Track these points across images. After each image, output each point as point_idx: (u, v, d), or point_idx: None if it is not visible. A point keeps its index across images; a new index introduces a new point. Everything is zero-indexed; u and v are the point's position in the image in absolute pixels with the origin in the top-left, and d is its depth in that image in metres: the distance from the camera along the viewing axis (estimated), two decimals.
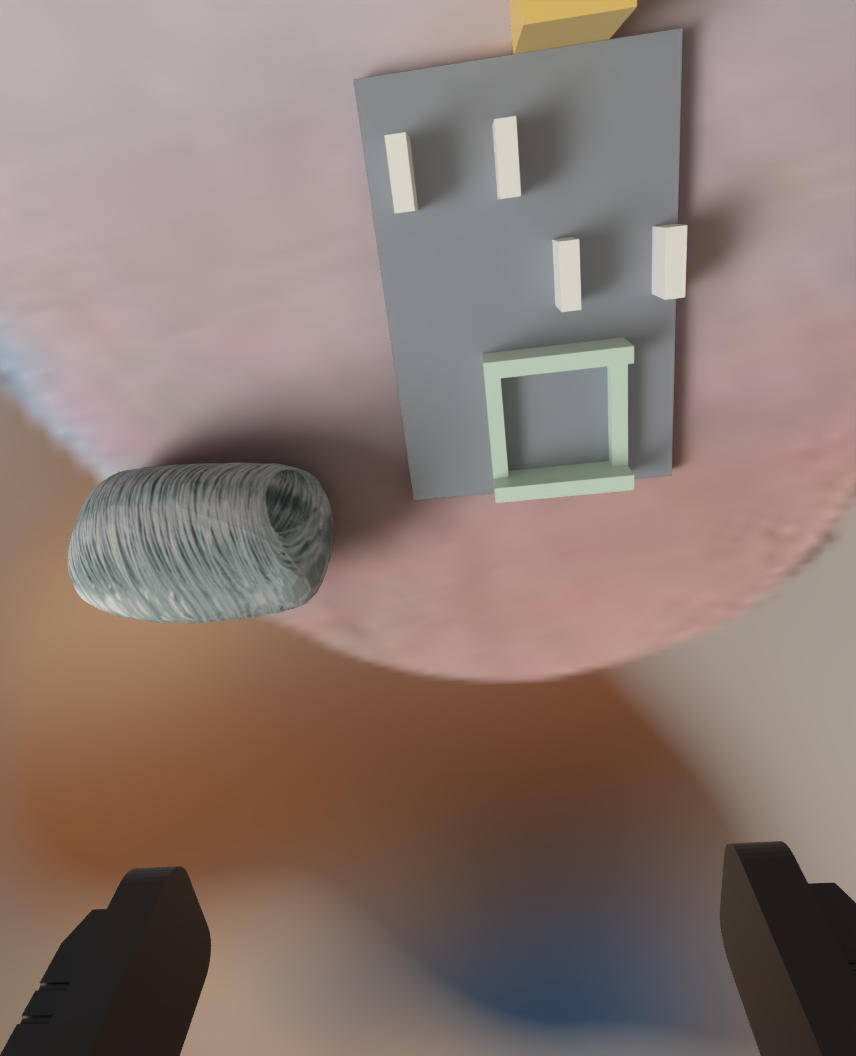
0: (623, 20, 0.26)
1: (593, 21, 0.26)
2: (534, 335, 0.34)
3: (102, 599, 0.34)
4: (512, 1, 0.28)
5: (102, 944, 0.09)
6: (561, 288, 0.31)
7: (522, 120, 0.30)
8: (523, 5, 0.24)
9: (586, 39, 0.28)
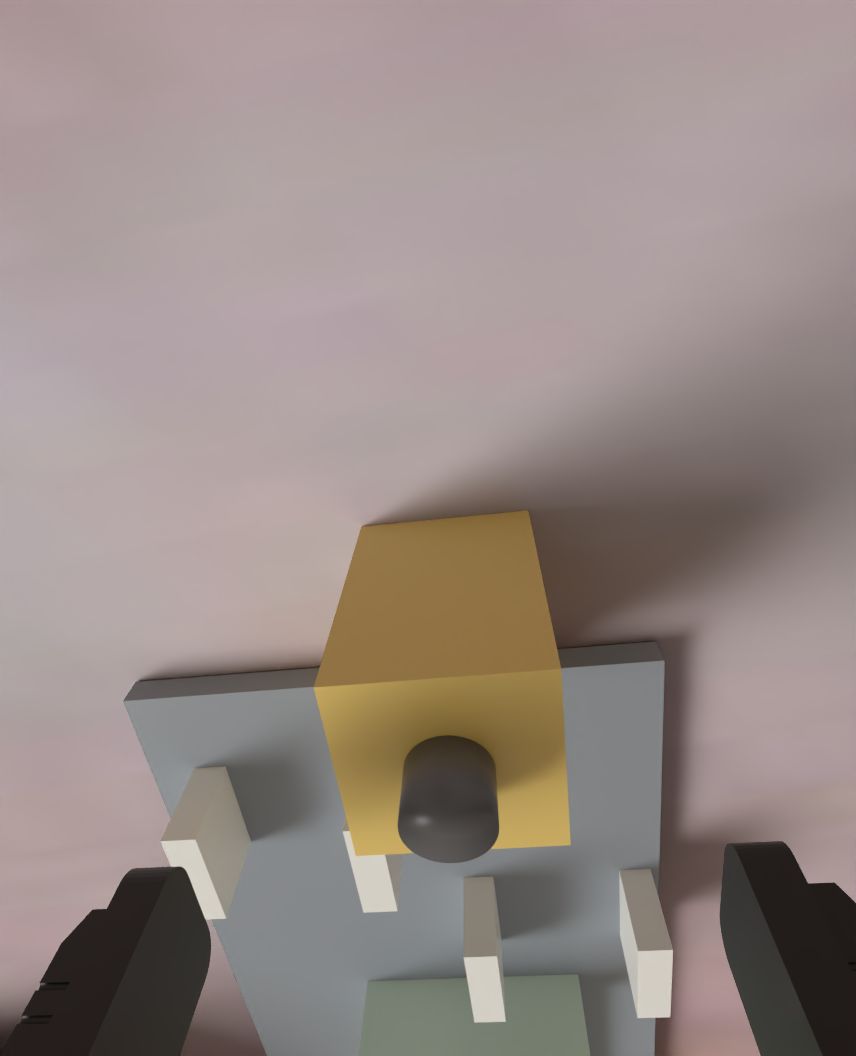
0: None
1: None
2: (444, 967, 0.23)
3: None
4: None
5: (102, 944, 0.09)
6: (472, 1001, 0.19)
7: None
8: (352, 836, 0.13)
9: None
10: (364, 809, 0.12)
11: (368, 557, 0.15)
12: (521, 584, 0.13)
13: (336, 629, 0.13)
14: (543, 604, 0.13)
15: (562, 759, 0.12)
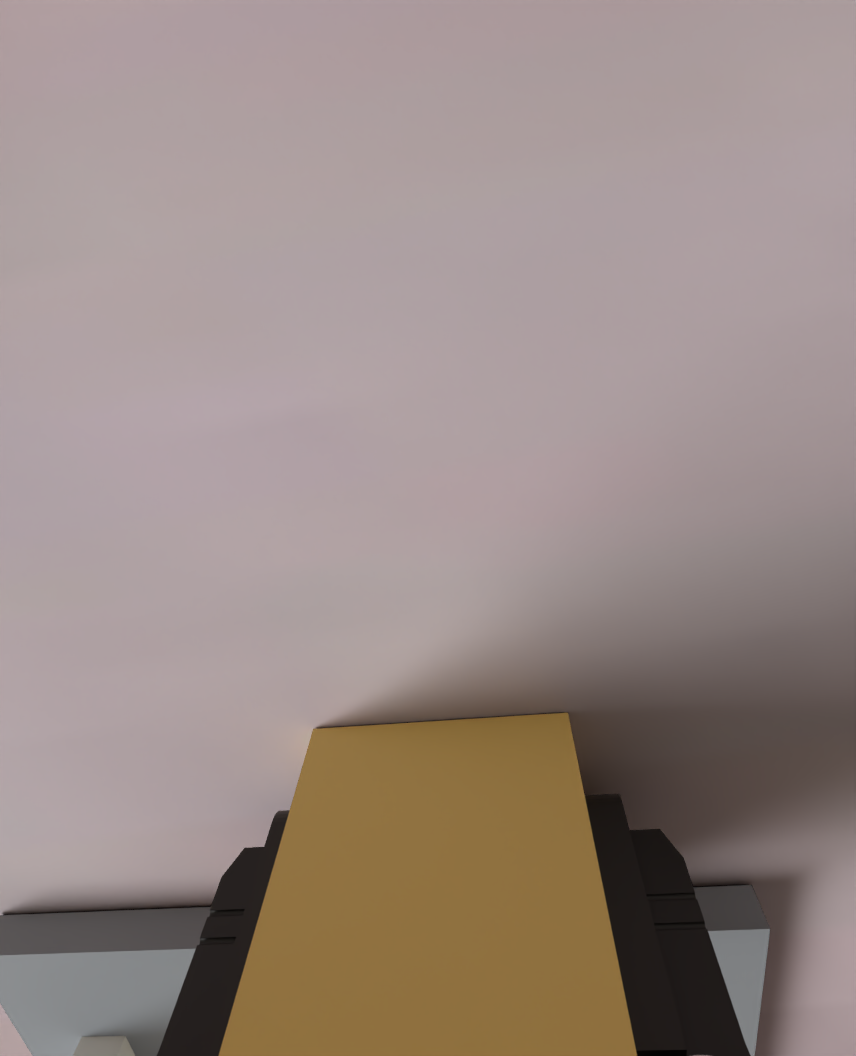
0: None
1: None
2: None
3: None
4: None
5: (268, 874, 0.10)
6: None
7: None
8: None
9: None
10: None
11: (315, 810, 0.09)
12: (570, 916, 0.08)
13: (237, 1023, 0.07)
14: (615, 987, 0.07)
15: None
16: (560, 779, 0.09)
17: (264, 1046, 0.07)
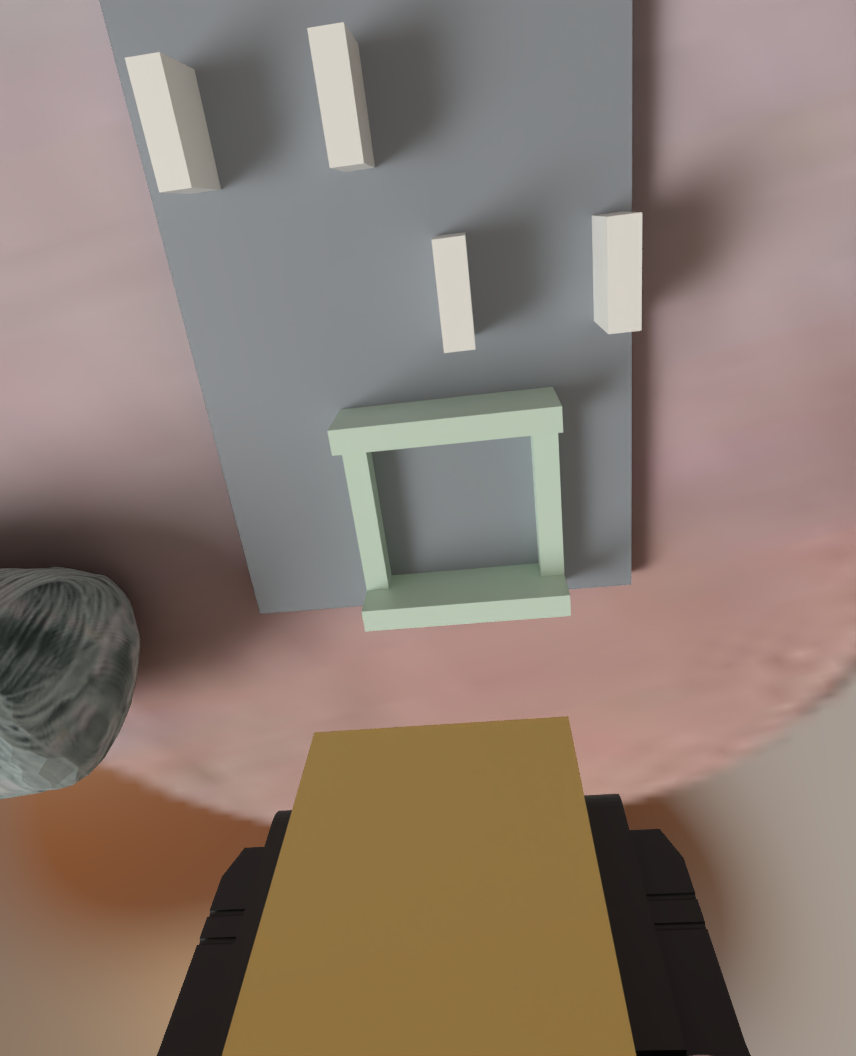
0: None
1: None
2: (417, 383, 0.22)
3: None
4: None
5: (268, 873, 0.10)
6: (441, 315, 0.19)
7: (373, 40, 0.19)
8: None
9: None
10: None
11: (316, 814, 0.09)
12: (570, 921, 0.08)
13: (239, 1028, 0.07)
14: (615, 992, 0.07)
15: None
16: (560, 783, 0.09)
17: (266, 1051, 0.07)
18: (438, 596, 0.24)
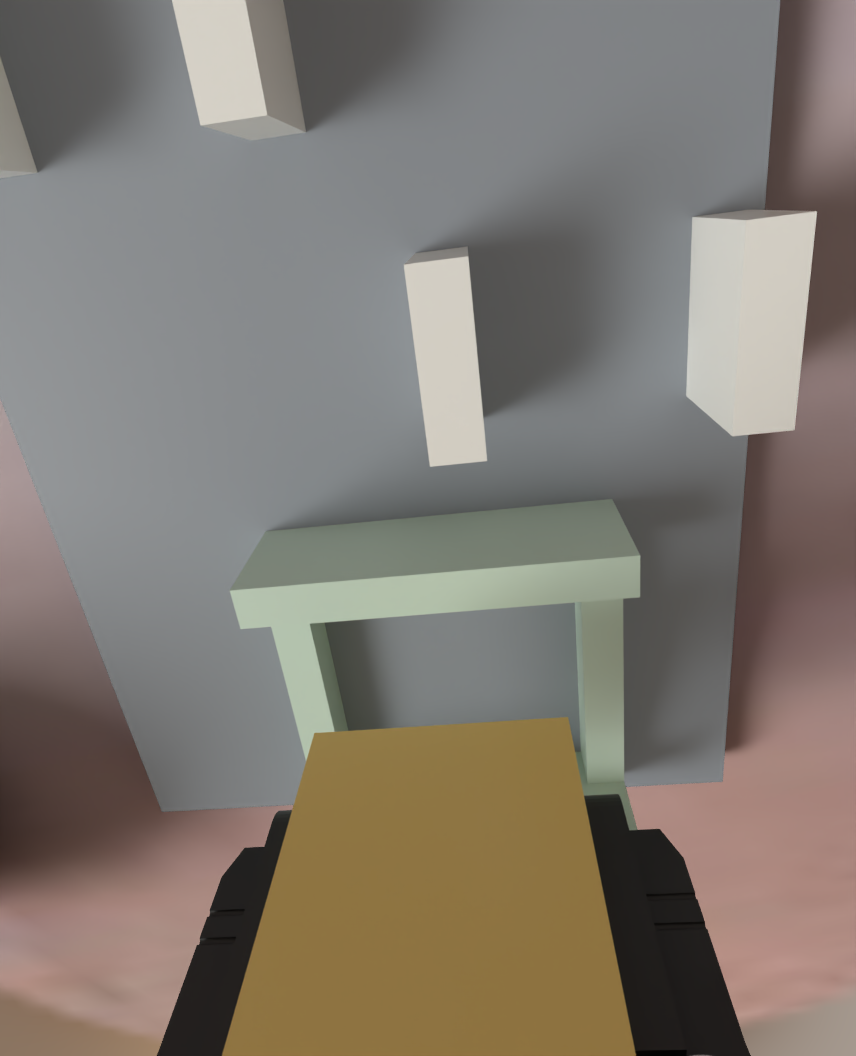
0: None
1: None
2: (389, 492, 0.14)
3: None
4: None
5: (268, 874, 0.10)
6: (424, 402, 0.10)
7: None
8: None
9: None
10: None
11: (316, 814, 0.09)
12: (570, 922, 0.08)
13: (239, 1028, 0.07)
14: (615, 993, 0.07)
15: None
16: (560, 784, 0.09)
17: (266, 1051, 0.07)
18: None
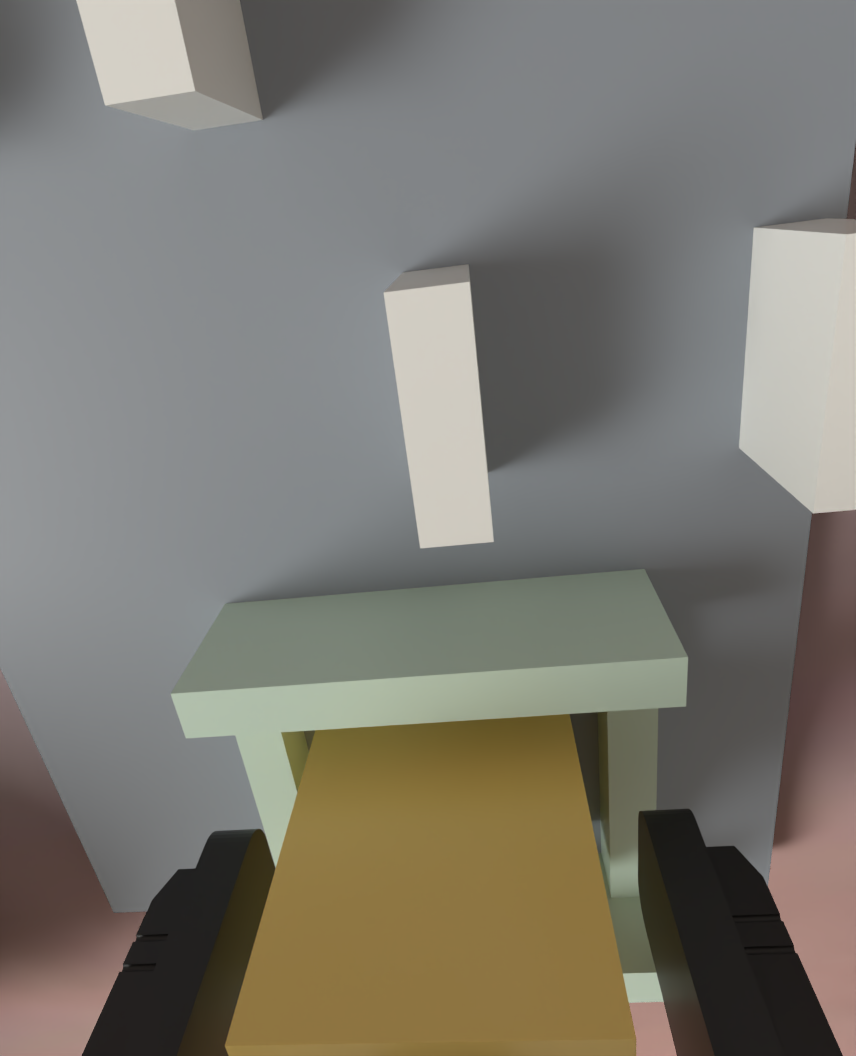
0: None
1: None
2: (372, 559, 0.11)
3: None
4: None
5: (196, 898, 0.09)
6: (412, 468, 0.08)
7: None
8: None
9: None
10: None
11: (335, 737, 0.11)
12: (557, 814, 0.09)
13: (276, 896, 0.08)
14: (593, 864, 0.08)
15: None
16: None
17: (299, 911, 0.08)
18: None
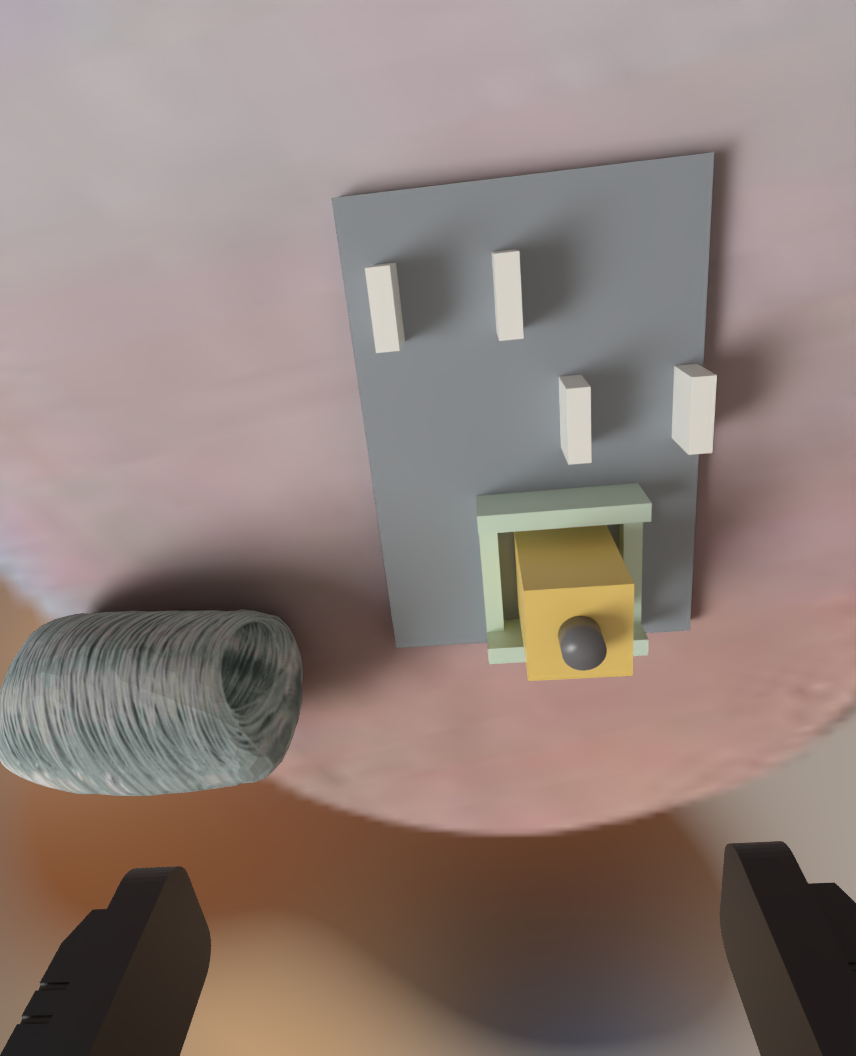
0: None
1: None
2: (536, 478, 0.30)
3: (29, 775, 0.29)
4: (518, 590, 0.30)
5: (102, 944, 0.09)
6: (568, 439, 0.27)
7: (526, 247, 0.26)
8: (528, 669, 0.27)
9: None
10: (536, 654, 0.26)
11: (524, 541, 0.29)
12: (608, 553, 0.28)
13: (523, 570, 0.27)
14: (621, 561, 0.27)
15: (631, 628, 0.26)
16: (603, 532, 0.29)
17: (532, 572, 0.27)
18: None
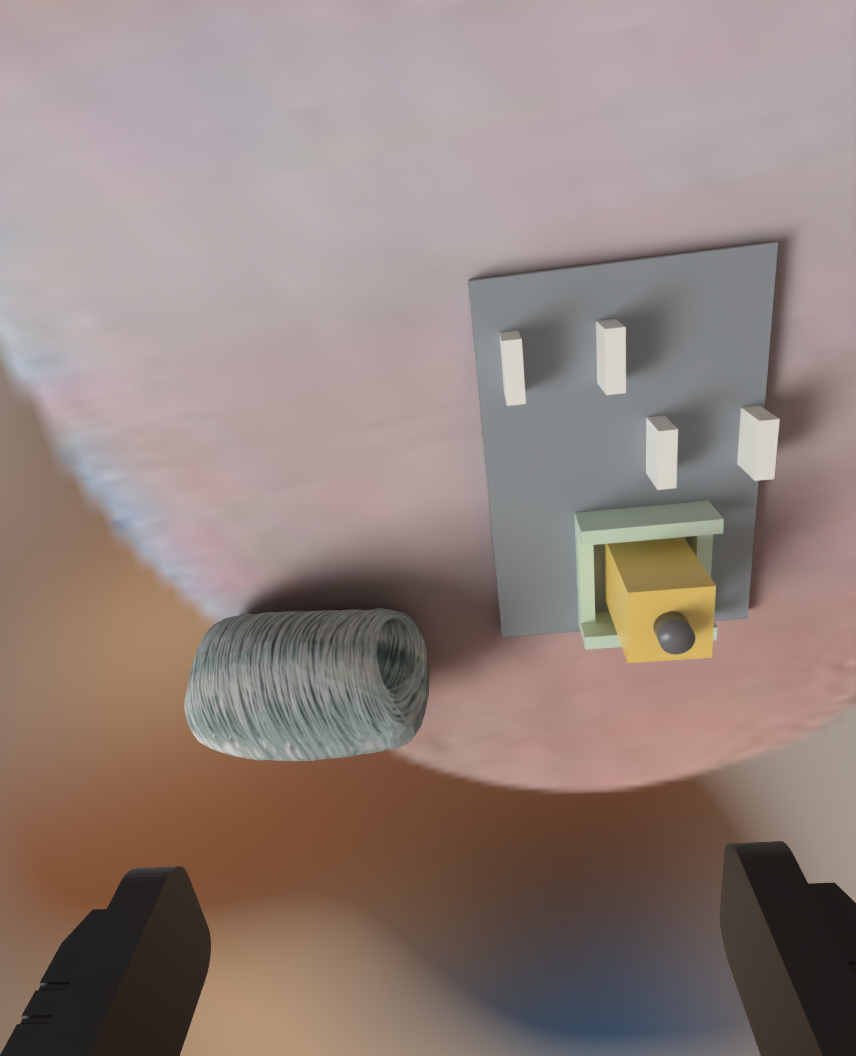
0: None
1: None
2: (624, 498, 0.37)
3: (220, 745, 0.36)
4: (610, 589, 0.37)
5: (102, 944, 0.09)
6: (658, 470, 0.33)
7: (624, 317, 0.33)
8: (628, 653, 0.34)
9: None
10: (635, 641, 0.33)
11: (617, 550, 0.36)
12: (689, 559, 0.34)
13: (622, 575, 0.34)
14: (701, 566, 0.34)
15: (712, 621, 0.33)
16: (681, 541, 0.36)
17: (630, 577, 0.33)
18: None
